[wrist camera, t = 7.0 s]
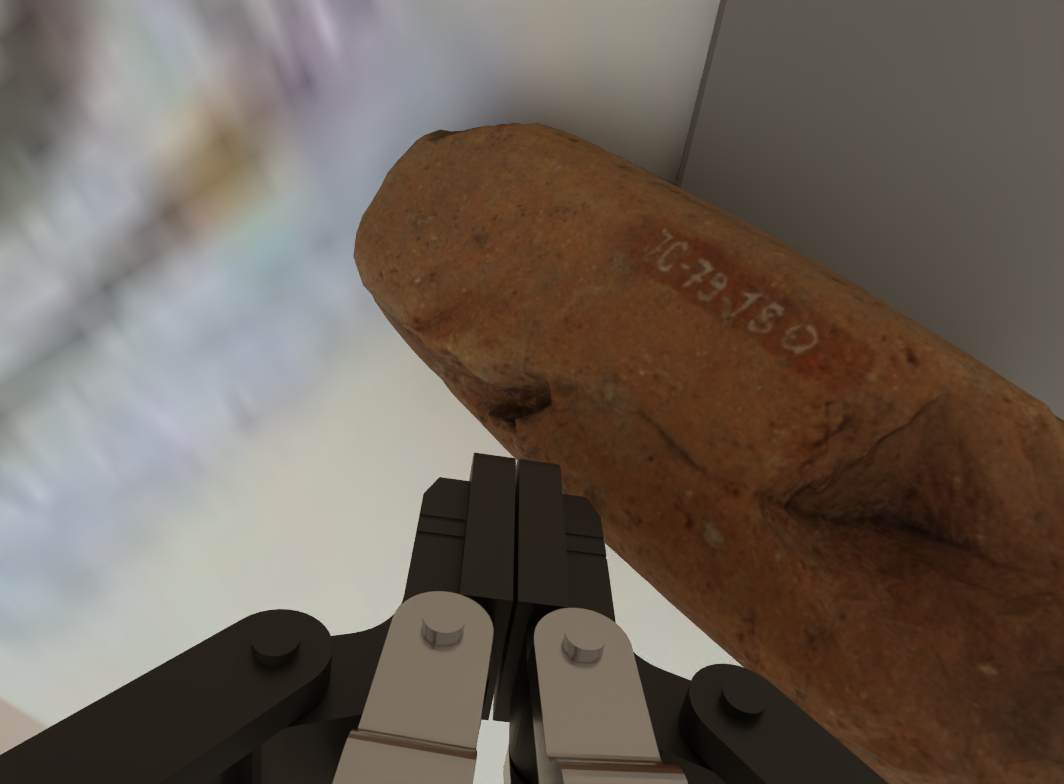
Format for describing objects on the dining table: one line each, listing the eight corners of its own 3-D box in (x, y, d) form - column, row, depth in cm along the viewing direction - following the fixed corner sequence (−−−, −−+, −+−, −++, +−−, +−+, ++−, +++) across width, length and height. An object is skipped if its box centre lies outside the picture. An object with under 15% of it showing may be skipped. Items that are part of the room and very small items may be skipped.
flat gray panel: (742, -93, 23) (749, -94, 22) (1314, 16, 25) (1337, 18, 24) (604, 479, 32) (605, 490, 32) (1023, 532, 34) (1033, 544, 33)
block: (613, 245, 29) (1234, 631, 18) (481, 406, 29) (1024, 885, 18) (467, 29, 20) (1538, 547, 9) (275, 264, 20) (1117, 1056, 9)
